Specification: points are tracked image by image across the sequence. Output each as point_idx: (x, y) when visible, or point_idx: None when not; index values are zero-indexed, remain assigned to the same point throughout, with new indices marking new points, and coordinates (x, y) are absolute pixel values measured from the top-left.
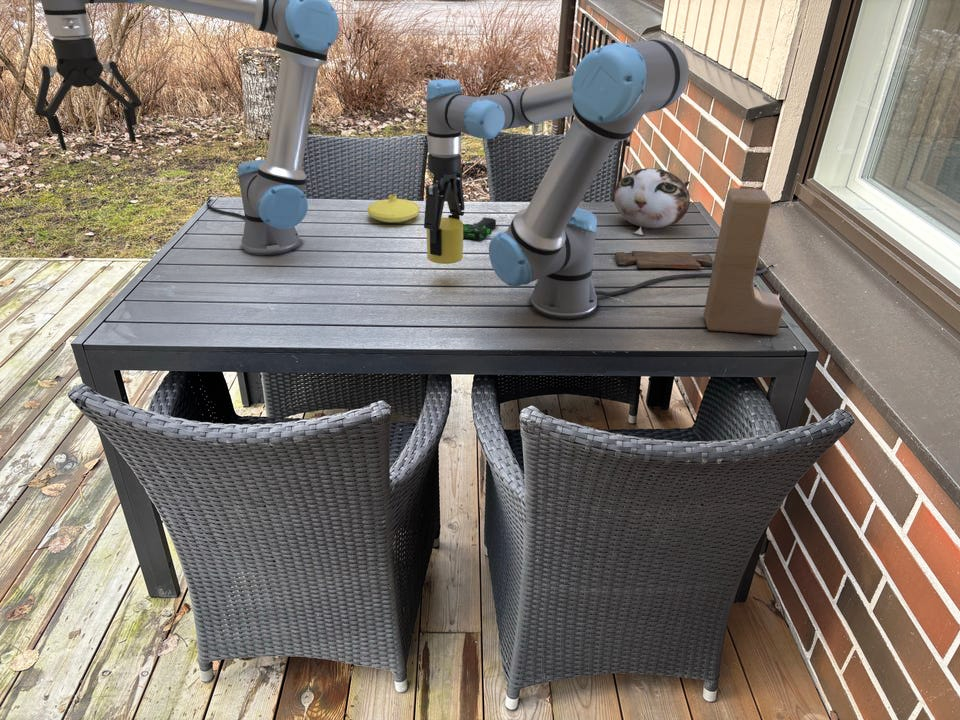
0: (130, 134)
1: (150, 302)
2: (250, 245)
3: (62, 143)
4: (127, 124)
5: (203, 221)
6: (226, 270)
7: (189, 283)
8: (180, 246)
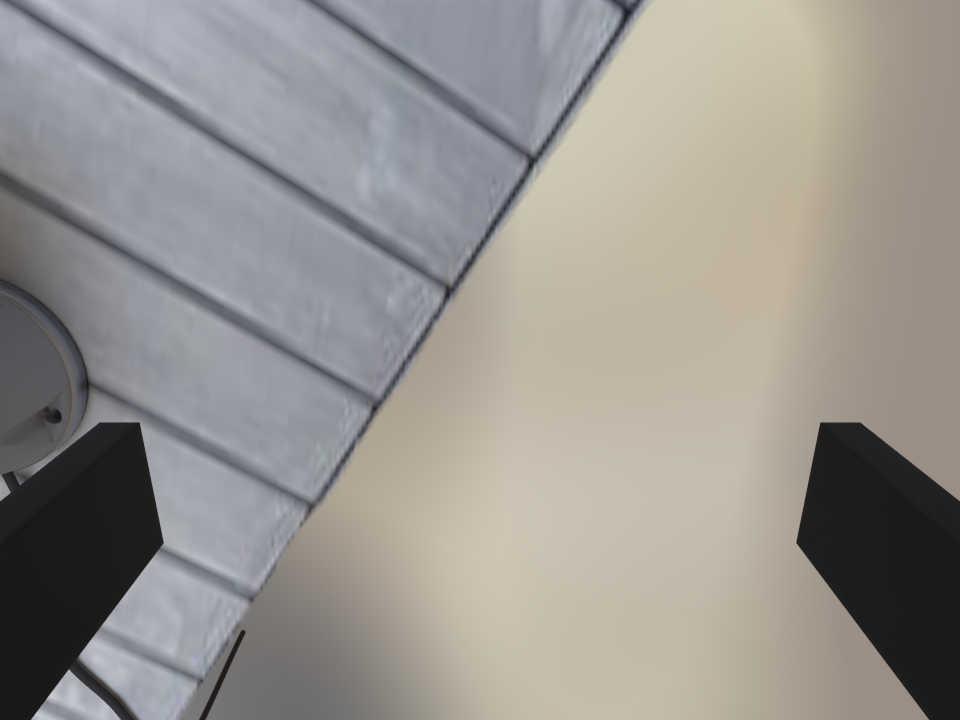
0: (95, 481)
1: (459, 90)
2: (42, 338)
3: (892, 458)
4: (32, 604)
5: (186, 667)
6: (169, 230)
7: (308, 184)
8: (285, 509)
